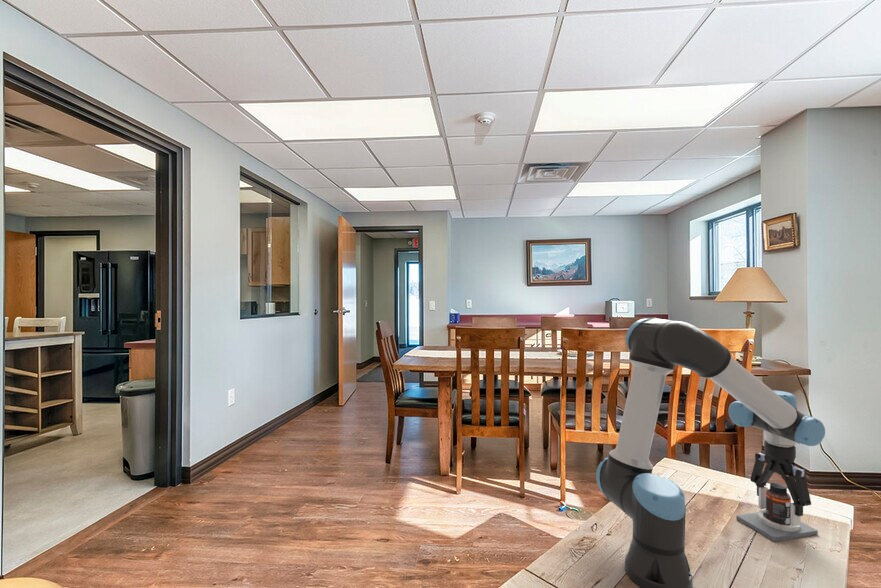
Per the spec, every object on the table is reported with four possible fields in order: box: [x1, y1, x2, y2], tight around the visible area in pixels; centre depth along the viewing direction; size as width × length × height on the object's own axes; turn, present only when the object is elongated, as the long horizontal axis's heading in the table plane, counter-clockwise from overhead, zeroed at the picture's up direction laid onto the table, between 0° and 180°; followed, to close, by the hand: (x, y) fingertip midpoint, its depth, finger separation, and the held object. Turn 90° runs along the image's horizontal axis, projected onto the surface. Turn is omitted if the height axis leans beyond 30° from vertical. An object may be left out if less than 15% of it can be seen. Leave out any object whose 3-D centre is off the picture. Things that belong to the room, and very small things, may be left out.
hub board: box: [735, 509, 819, 543], centre depth 129 cm, size 16×12×2 cm
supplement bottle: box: [765, 482, 792, 526], centre depth 129 cm, size 6×6×11 cm
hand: (778, 516), depth 129 cm, fingers open, 9 cm apart
